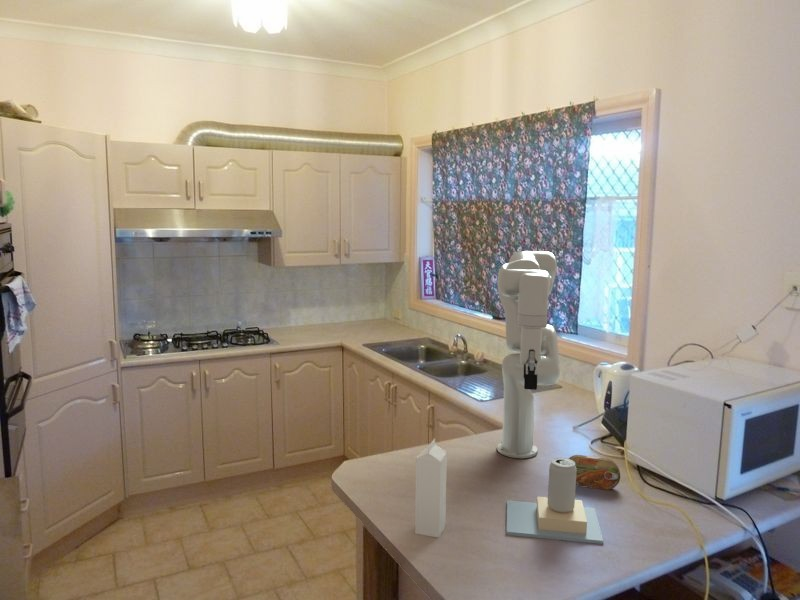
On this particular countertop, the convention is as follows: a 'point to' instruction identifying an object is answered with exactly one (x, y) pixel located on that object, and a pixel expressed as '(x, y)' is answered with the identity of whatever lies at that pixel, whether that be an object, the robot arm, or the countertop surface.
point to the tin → (596, 472)
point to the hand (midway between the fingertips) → (529, 383)
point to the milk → (431, 491)
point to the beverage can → (562, 485)
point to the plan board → (530, 526)
